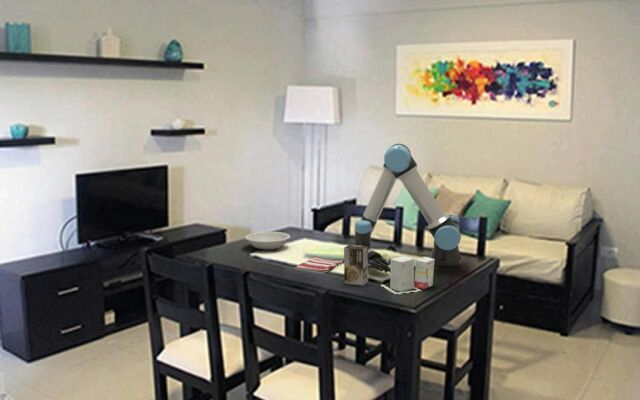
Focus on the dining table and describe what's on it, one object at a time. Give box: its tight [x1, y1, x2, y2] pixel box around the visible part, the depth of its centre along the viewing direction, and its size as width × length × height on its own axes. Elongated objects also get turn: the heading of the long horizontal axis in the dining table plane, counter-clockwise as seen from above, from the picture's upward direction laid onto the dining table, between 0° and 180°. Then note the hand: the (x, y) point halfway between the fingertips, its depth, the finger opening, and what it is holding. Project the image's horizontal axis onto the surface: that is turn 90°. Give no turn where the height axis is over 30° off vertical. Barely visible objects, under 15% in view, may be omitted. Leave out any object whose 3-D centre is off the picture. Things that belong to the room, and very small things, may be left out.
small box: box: [389, 255, 415, 292], centre depth 258 cm, size 8×6×13 cm
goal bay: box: [380, 284, 423, 295], centre depth 259 cm, size 12×13×1 cm
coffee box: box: [343, 243, 369, 286], centre depth 266 cm, size 9×6×16 cm
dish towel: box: [294, 255, 344, 274], centre depth 295 cm, size 17×23×3 cm
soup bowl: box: [244, 231, 291, 250], centre depth 329 cm, size 24×24×7 cm
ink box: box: [414, 256, 435, 290], centre depth 260 cm, size 9×5×12 cm, turn 144°
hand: (396, 272), depth 262 cm, fingers closed
